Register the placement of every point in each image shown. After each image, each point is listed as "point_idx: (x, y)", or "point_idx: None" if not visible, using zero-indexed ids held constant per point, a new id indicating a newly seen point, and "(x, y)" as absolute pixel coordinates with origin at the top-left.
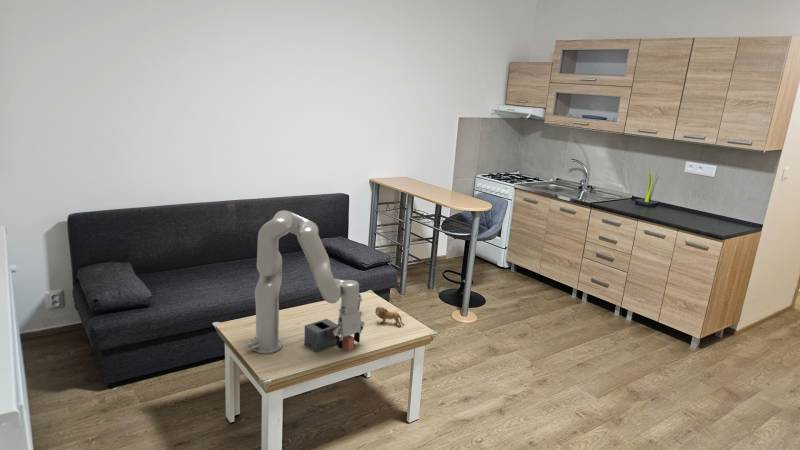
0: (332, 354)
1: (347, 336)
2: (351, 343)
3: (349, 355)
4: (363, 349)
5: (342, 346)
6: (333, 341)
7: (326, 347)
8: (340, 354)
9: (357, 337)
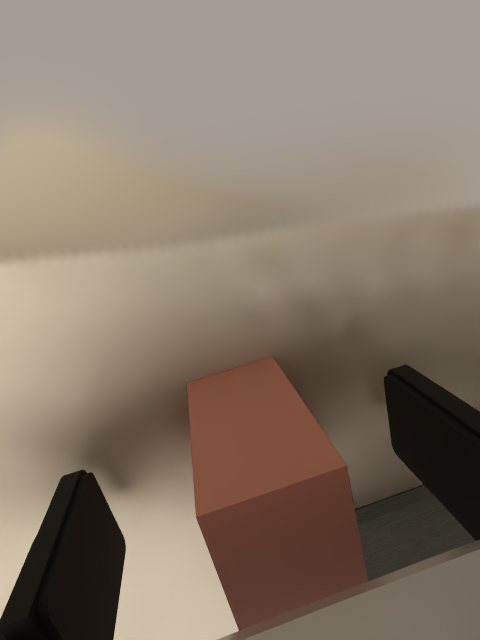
0: (468, 342)
1: (305, 583)
2: (247, 421)
3: (314, 242)
4: (56, 326)
5: (403, 387)
6: (394, 552)
7: None
8: (397, 310)
9: (78, 555)
